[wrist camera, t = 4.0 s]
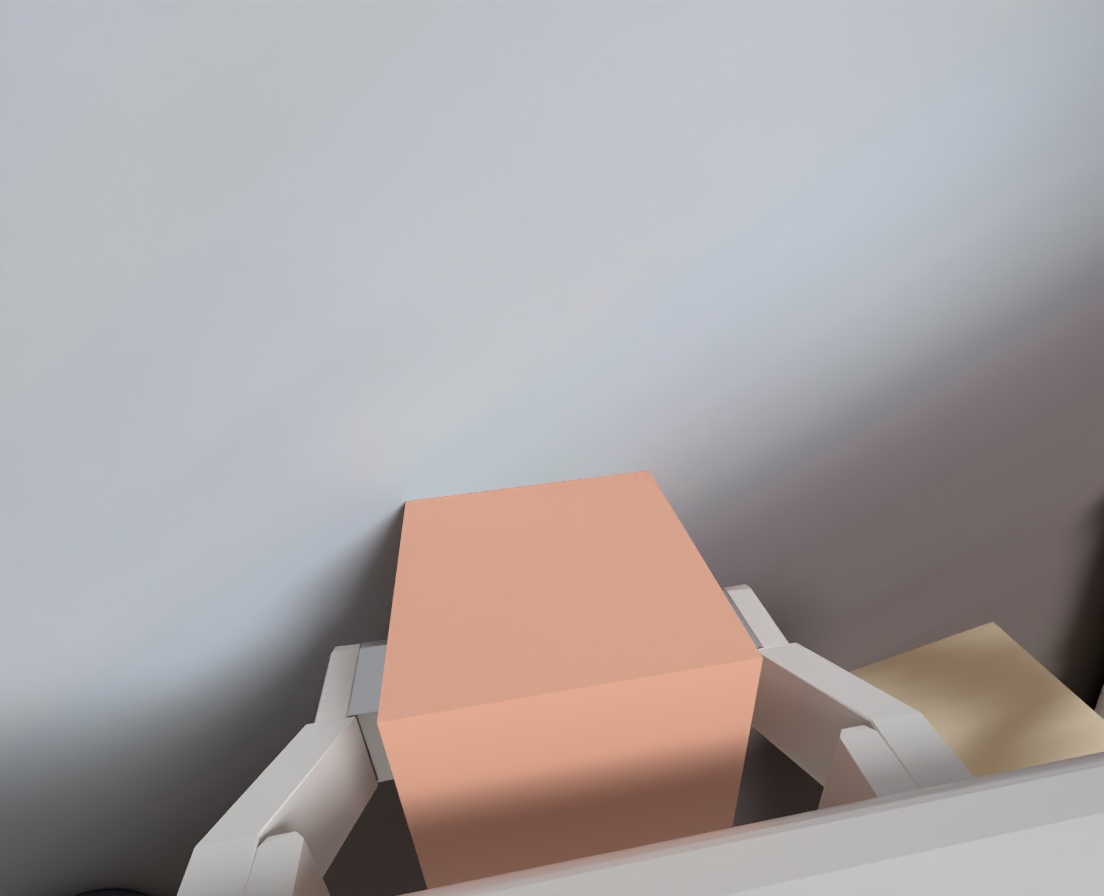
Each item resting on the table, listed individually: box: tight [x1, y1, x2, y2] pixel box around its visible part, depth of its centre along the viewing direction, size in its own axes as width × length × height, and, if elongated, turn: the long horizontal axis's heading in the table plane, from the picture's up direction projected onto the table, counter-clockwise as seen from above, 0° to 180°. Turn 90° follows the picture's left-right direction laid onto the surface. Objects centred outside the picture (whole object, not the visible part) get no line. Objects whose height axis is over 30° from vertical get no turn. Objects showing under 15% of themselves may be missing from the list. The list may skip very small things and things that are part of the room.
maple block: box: [849, 622, 1104, 778], centre depth 15 cm, size 5×5×5 cm
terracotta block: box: [377, 471, 763, 889], centre depth 11 cm, size 5×5×5 cm
